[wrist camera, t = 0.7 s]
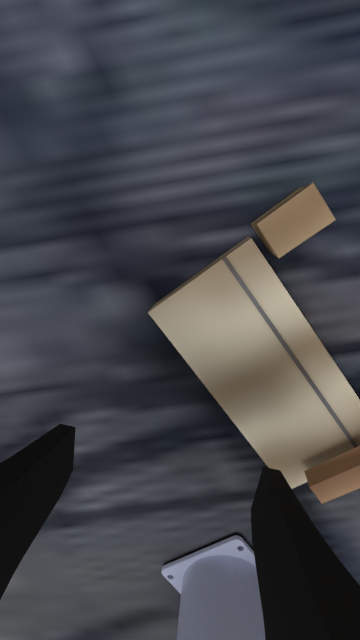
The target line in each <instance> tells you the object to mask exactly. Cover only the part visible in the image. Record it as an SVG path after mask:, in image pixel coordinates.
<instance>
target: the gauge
mask: <svg viewBox="0 0 360 640" xmlns="http://www.w3.org/2000/svg"><path fill="white" fill-rule="evenodd" d="M304 472H305V475H306V478H307V481H308V484H309V487H310V488H311V490H312V491H313V492H314V494H315V495H316V496H317V498H318V499H319V500H320V502H321V503H322V504H323V503H325V502H328V501H330V500H333V499H335V498H337V497H340V496H342V495H345V494H347V493H349V492H352V491H354V490H357V489H359V488H360V446H358V447H356V448H354V449H352V450H350V451H347V452H345V453H343V454H341V455H339V456H336V457H334V458H332V459H330V460H328V461H325V462H323V463H321V464H319V465H317V466H313V467H312V468H310V469H308V470H306V471H304Z"/></svg>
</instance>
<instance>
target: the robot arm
mask: <svg viewBox="0 0 360 640" xmlns="http://www.w3.org/2000/svg"><path fill="white" fill-rule="evenodd" d="M74 442H75V427H72V426H67V425H62V424H59V425H58V426H56V427H55V428H53V429H52V430H50V431H49V432H47V433H46V434H44V435H43V436H41V437H40V438H39V439H37V440H36V441H34V442H33V443H31V444H30V445H28V446H27V447H25V448H24V449H22V450H21V451H19V452H17V453H16V454H14V455H13V456H11V457H10V458H8V459H7V460H5V461H3V462H2V463H0V599H1V597H2V595H3V593H4V591H5V589H6V587H7V585H8V584H9V582H10V580H11V578H12V576H13V574H14V572H15V570H16V568H17V567H18V565H19V563H20V561H21V560H22V558H23V556H24V555H25V553H26V551H27V550H28V548H29V547H30V545H31V543H32V542H33V540H34V539H35V537H36V535H37V534H38V532H39V530H40V529H41V527H42V526H43V524H44V522H45V521H46V519H47V518H48V516H49V514H50V513H51V511H52V509H53V508H54V506H55V504H56V503H57V501H58V499H59V498H60V496H61V494H62V492H63V490H64V488H65V486H66V484H67V482H68V479H69V477H70V475H71V473H72V471H73V460H74ZM251 525H252V542H253V550H254V551H253V550H252V549H251V548H250V547H249V545H248V544H247V543H246V542H245V541H244V540H243V538H242V537H240V536H238V535H235V536H232V537H229V538H227V539H225V540H222V541H220V542H218V543H215V544H213V545H211V546H208V547H206V548H204V549H201V550H199V551H197V552H194V553H192V554H189V555H187V556H185V557H182V558H180V559H178V560H175V561H173V562H171V563H168V564H166V565H164V566H163V567H162V570H161V573H162V575H163V576H164V577H165V578H166V579H167V580H168V581H169V582H170V583H171V584H172V585H173V586H174V588H175V589H176V590H177V591H178V592H179V593H180V594H181V600H180V610H179V620H178V630H177V640H360V586H359V584H358V583H357V582H356V581H355V579H354V578H353V577H352V576H351V574H350V573H349V572H348V571H347V570H346V568H345V567H344V566H343V564H342V563H341V562H340V561H339V559H338V558H337V557H336V555H335V554H334V552H333V551H332V550H331V548H330V547H329V546H328V544H327V543H326V541H325V540H324V539H323V537H322V536H321V534H320V533H319V531H318V530H317V528H316V527H315V525H314V524H313V522H312V521H311V519H310V518H309V516H308V515H307V513H306V511H305V510H304V508H303V507H302V505H301V504H300V502H299V500H298V499H297V497H296V495H295V494H294V492H293V490H292V489H291V487H290V486H289V484H288V482H287V481H286V479H285V477H284V476H283V474H282V472H281V471H280V470H276V469H271V468H267V467H263V470H262V473H261V477H260V480H259V484H258V487H257V490H256V494H255V497H254V501H253V504H252V507H251Z"/></svg>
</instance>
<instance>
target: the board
mask: <svg viewBox="0 0 360 640" xmlns="http://www.w3.org/2000/svg"><path fill="white" fill-rule="evenodd" d="M148 313H149V315H150V316H151V317H152V318H153V320H154V321H155V322H156V324H157V325H158V326H159V327H160V329H161V330H162V331H163V333H164V334H165V335H166V336H167V338H168V339H169V340H170V342H171V343H172V344H173V345H174V347H175V348H176V349H177V351H178V352H179V353H180V354H181V356H182V357H183V358H184V360H185V361H186V362H187V363H188V365H189V366H190V367H191V369H192V370H193V371H194V372H195V374H196V375H197V376H198V378H199V379H200V380H201V381H202V383H203V384H204V385H205V387H206V388H207V389H208V390H209V392H210V393H211V394H212V395H213V397H214V398H215V399H216V401H217V402H218V403H219V404H220V406H221V407H222V408H223V410H224V411H225V412H226V413H227V415H228V416H229V417H230V419H231V420H232V421H233V422H234V424H235V425H236V426H237V428H238V429H239V430H240V431H241V433H242V434H243V435H244V437H245V438H246V439H247V440H248V442H249V443H250V444H251V446H252V447H253V448H254V449H255V451H256V452H257V453H258V455H259V456H260V457H261V458H262V460H263V461H264V462H265V464H266V465H267V466H268V467H269V468H271V469H276V470H280V471H281V472H282V474H283V476H284V477H285V479H286V481H287V482H288V484H289V486H290V487H291V489H293V488H295V487H297V486H299V485H301V484H304V483H306V482H308V481H307V478H306V475H305V472H304V471H306V470H308V469H310V468H312V467H313V466H317V465H319V464H321V463H323V462H325V461H328V460H330V459H332V458H334V457H336V456H339V455H341V454H343V453H345V452H347V451H350V450H352V449H354V448H356V447H358V446H360V399H359V398H358V396H357V395H356V393H355V392H354V390H353V389H352V387H351V386H350V384H349V383H348V381H347V380H346V378H345V377H344V375H343V374H342V372H341V371H340V370H339V368H338V367H337V365H336V364H335V362H334V361H333V359H332V358H331V356H330V355H329V353H328V352H327V350H326V349H325V347H324V346H323V344H322V343H321V341H320V340H319V338H318V337H317V335H316V334H315V332H314V331H313V329H312V328H311V326H310V325H309V323H308V322H307V320H306V319H305V317H304V316H303V314H302V313H301V311H300V310H299V308H298V307H297V305H296V304H295V302H294V301H293V299H292V298H291V296H290V295H289V293H288V292H287V290H286V289H285V288H284V286H283V285H282V283H281V282H280V280H279V279H278V277H277V276H276V274H275V273H274V271H273V270H272V268H271V267H270V265H269V264H268V262H267V261H266V259H265V258H264V256H263V255H262V253H261V252H260V250H259V249H258V247H257V246H256V244H255V243H254V241H253V240H252V238H250V237H246V238H245V239H244V240H242V241H241V242H240V243H238V244H237V245H235V246H234V247H233V248H231V249H230V250H228V251H227V252H226V253H224V254H223V255H222V256H220V257H219V258H217V259H216V260H215V261H213V262H212V263H210V264H209V265H208V266H206V267H205V268H204V269H202V270H201V271H199V272H198V273H197V274H195V275H194V276H192V277H191V278H190V279H188V280H187V281H186V282H184V283H183V284H181V285H180V286H179V287H177V288H176V289H174V290H173V291H172V292H170V293H169V294H168V295H166V296H165V297H163V298H162V299H161V300H159V301H158V302H156V303H155V304H154V305H153V307H152V308H151V309H150V310H149V312H148Z"/></svg>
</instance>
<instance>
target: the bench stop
mask: <svg viewBox="0 0 360 640" xmlns="http://www.w3.org/2000/svg"><path fill="white" fill-rule="evenodd" d="M335 220H336V219H335V218H334V216H333V214H332V213H331V211H330V209H329V208H328V206H327V205H326V203H325V201H324V200H323V198H322V196H321V195H320V193H319V191H318V190H317V188H316V186H315V185H314V183H312V184H309V185H307V186H304V187H302V188H299V189H297V190H296V191H294V192H293V193H292V194H290V195H289V196H288V197H286V198H285V199H284V200H282V201H281V202H279V203H278V204H277V205H275V206H274V207H273V208H271V209H270V210H269V211H267V212H266V213H265V214H263V215H262V216H260V217H259V218H258V219H256V220H255V221H254V222H252V223H251V225H252V227H253V228H254V230H255V231H256V233H257V234H258V236H259V237H260V239H261V240H262V242H263V243H264V245H265V246H266V248H267V249H268V251H269V252H270V253H271V254H273V255H275V256H276V257H278V258H280V257H282V256H283V255H285V254H286V253H288V252H289V251H290V250H292V249H293V248H295V247H296V246H298V245H299V244H301V243H302V242H304V241H305V240H307V239H308V238H310V237H311V236H313V235H314V234H316V233H317V232H318V231H320V230H321V229H323V228H324V227H326V226H327V225H329V224H330V223H332V222H333V221H335Z"/></svg>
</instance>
